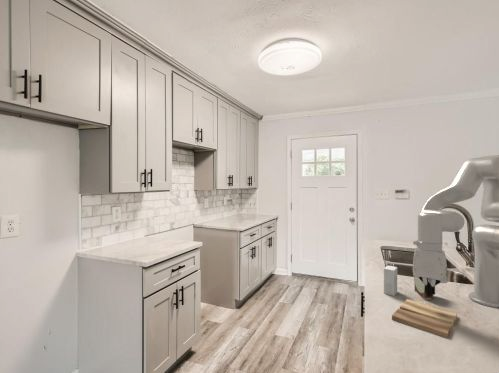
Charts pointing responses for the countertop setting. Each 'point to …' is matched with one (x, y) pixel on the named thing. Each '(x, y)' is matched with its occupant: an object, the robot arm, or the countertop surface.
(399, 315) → the floor board
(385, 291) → the skincare box
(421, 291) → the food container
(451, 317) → the oak plank
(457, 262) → the countertop surface
